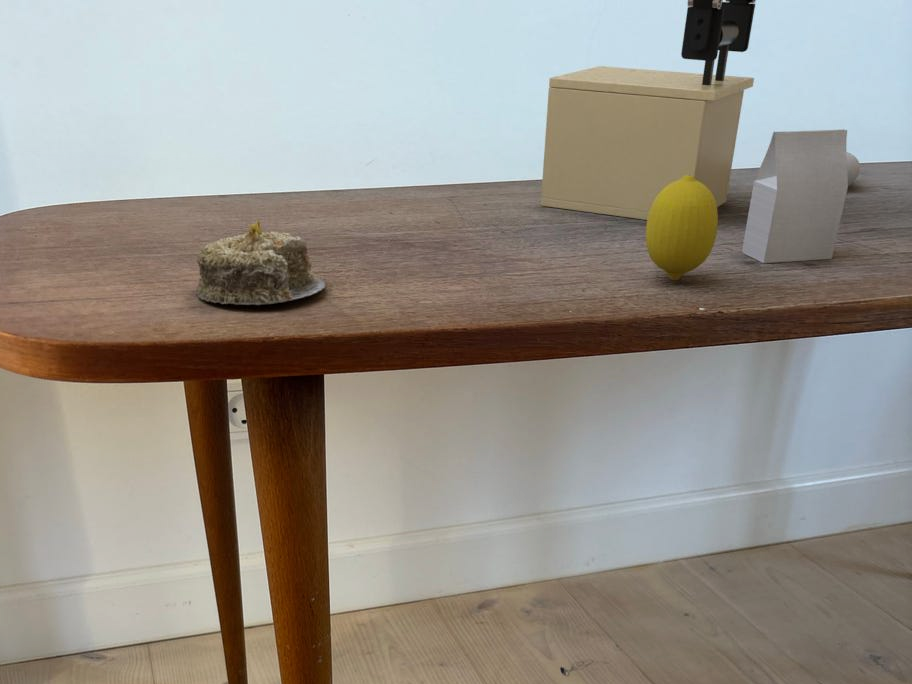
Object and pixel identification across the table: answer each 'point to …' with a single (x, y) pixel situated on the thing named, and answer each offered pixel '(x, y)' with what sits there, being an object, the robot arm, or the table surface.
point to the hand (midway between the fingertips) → (715, 54)
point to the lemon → (682, 226)
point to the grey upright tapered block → (798, 197)
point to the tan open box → (633, 148)
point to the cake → (256, 269)
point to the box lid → (663, 78)
